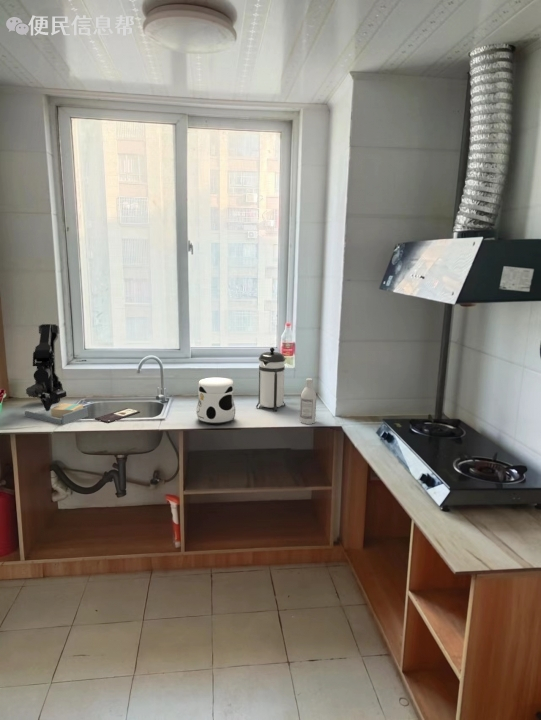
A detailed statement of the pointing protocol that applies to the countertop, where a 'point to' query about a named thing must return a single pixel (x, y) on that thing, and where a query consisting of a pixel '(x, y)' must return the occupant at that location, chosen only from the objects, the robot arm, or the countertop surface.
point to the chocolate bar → (117, 415)
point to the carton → (64, 409)
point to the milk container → (215, 400)
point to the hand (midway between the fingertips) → (47, 410)
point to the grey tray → (65, 418)
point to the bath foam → (308, 403)
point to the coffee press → (271, 379)
